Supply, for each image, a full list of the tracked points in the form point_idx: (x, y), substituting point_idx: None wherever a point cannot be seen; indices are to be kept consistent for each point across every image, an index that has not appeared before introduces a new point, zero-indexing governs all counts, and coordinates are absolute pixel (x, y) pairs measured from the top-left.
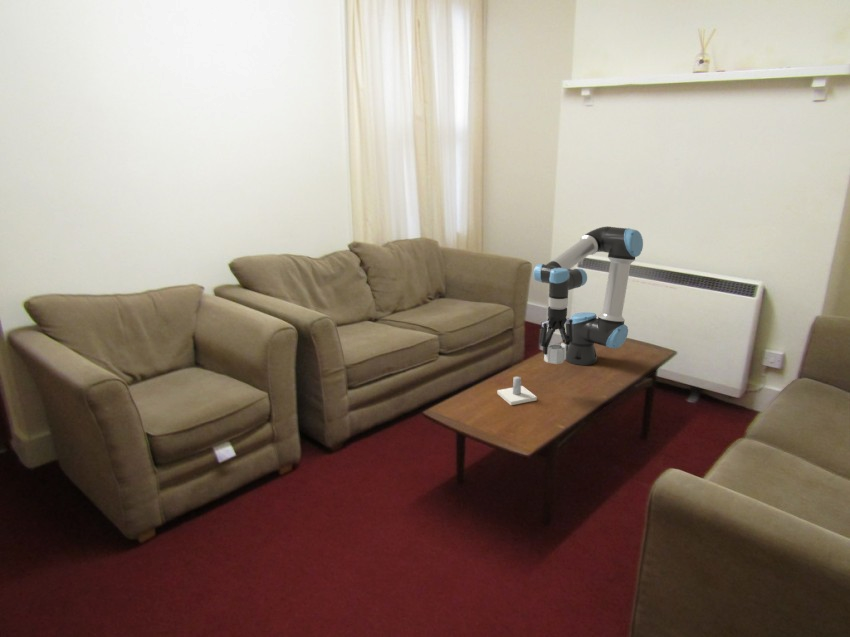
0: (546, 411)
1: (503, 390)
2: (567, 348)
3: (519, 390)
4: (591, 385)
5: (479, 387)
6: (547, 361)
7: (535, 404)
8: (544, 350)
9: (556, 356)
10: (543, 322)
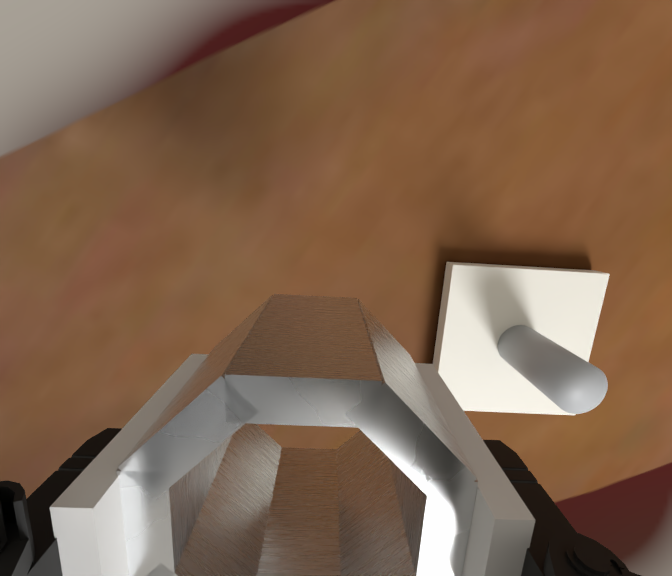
0: (482, 129)
1: (551, 401)
2: (72, 458)
3: (532, 334)
4: (66, 288)
5: (583, 489)
6: (435, 372)
7: (478, 227)
8: (543, 502)
9: (374, 335)
10: None
